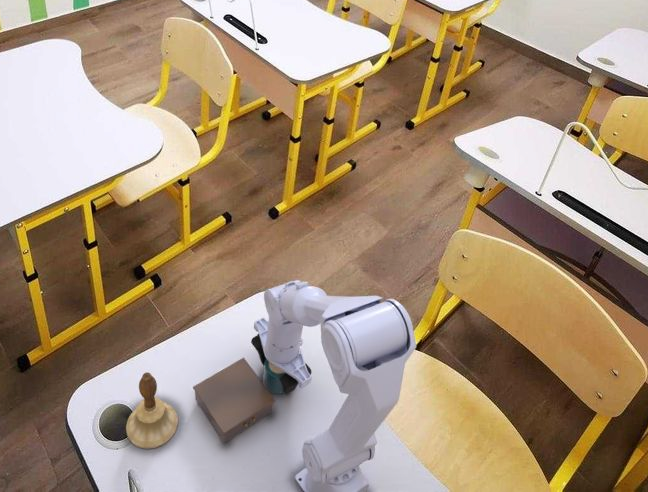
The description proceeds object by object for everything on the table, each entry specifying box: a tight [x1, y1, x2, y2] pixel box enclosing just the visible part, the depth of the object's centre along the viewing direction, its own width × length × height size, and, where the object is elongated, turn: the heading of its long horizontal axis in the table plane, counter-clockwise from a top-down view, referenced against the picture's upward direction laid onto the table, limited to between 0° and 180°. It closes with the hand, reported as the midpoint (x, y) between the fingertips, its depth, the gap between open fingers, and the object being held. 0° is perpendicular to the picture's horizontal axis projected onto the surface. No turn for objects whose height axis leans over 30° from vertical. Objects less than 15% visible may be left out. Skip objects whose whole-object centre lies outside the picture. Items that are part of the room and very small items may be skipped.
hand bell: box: [125, 371, 179, 450], centre depth 92 cm, size 8×8×16 cm
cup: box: [262, 359, 286, 394], centre depth 106 cm, size 5×7×6 cm
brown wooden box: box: [192, 357, 276, 444], centre depth 100 cm, size 10×10×5 cm
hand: (278, 376), depth 106 cm, fingers open, 6 cm apart
